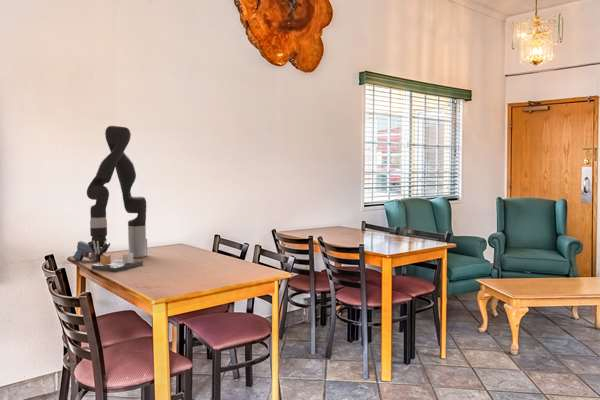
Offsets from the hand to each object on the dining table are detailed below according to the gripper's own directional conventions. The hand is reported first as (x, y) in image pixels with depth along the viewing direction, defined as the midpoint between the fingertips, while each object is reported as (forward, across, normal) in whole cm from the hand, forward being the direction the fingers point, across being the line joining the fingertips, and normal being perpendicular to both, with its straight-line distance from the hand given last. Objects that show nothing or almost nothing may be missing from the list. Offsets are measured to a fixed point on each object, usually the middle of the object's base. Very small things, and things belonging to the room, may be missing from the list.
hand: (99, 261), depth 236 cm
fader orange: (+1, -4, 0) cm, 4 cm away
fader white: (+1, -11, -8) cm, 13 cm away
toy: (+4, +22, -12) cm, 25 cm away
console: (+4, -5, -7) cm, 9 cm away
